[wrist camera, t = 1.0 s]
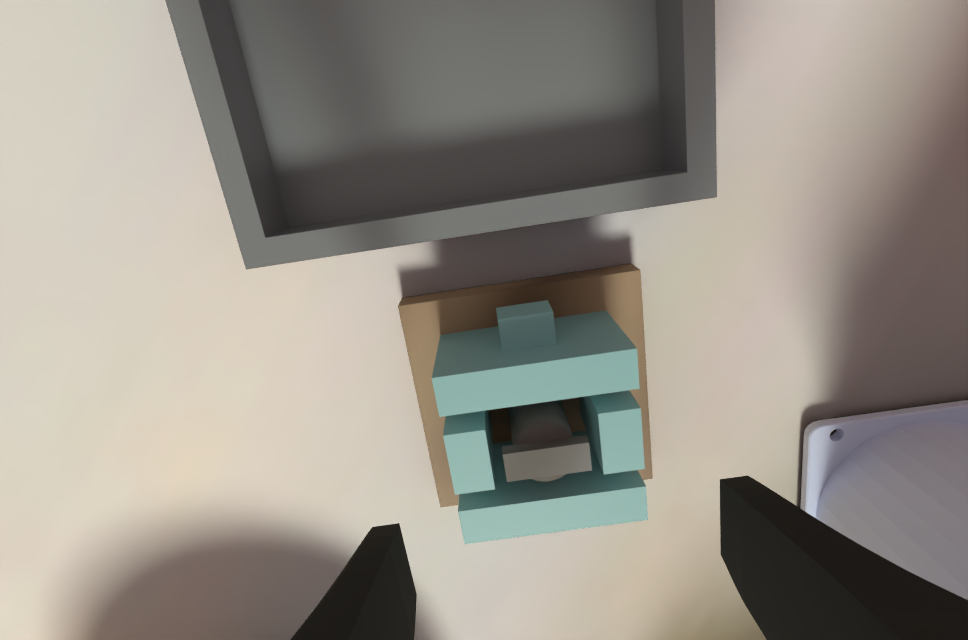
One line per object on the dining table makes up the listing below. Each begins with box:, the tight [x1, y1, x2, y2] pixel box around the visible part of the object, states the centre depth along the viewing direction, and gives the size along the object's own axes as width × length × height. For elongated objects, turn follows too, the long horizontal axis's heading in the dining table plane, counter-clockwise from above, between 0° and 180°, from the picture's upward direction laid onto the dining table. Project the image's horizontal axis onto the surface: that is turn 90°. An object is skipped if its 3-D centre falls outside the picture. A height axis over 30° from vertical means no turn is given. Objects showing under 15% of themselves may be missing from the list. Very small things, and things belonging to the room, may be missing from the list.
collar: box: [432, 300, 648, 544], centre depth 16 cm, size 6×7×4 cm
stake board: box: [398, 264, 652, 507], centre depth 17 cm, size 8×8×5 cm
